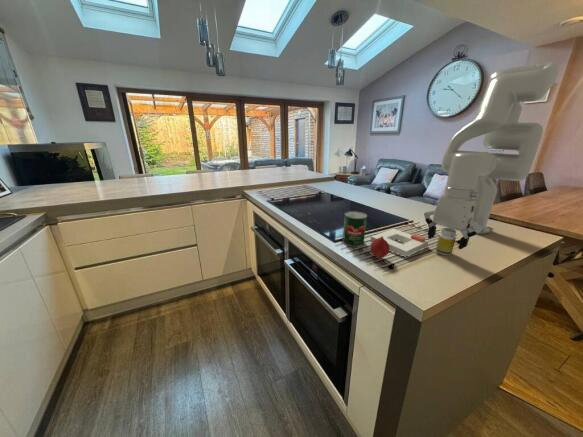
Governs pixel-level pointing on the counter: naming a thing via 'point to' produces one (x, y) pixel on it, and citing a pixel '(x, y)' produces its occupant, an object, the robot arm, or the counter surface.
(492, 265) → the counter surface
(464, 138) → the robot arm
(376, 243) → the onion
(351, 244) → the canned tomato
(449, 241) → the supplement bottle
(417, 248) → the socket plate
